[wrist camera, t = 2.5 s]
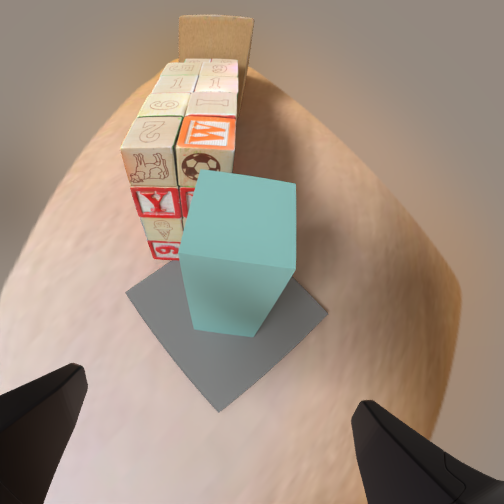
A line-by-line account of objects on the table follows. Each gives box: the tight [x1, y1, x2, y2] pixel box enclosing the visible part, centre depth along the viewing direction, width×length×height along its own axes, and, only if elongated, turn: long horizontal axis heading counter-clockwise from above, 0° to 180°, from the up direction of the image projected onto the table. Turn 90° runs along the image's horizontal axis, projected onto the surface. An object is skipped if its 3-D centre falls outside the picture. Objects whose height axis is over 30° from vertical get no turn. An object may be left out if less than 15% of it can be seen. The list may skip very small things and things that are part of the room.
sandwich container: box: [179, 15, 254, 118], centre depth 33 cm, size 9×15×15 cm, turn 179°
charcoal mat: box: [125, 260, 328, 412], centre depth 23 cm, size 12×12×1 cm
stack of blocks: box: [121, 59, 239, 261], centre depth 24 cm, size 21×6×12 cm, turn 0°
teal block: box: [178, 169, 296, 337], centre depth 17 cm, size 5×5×12 cm
